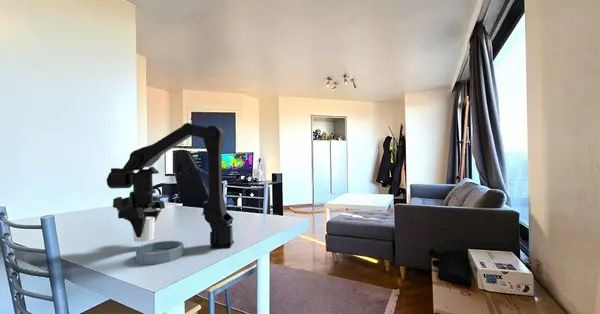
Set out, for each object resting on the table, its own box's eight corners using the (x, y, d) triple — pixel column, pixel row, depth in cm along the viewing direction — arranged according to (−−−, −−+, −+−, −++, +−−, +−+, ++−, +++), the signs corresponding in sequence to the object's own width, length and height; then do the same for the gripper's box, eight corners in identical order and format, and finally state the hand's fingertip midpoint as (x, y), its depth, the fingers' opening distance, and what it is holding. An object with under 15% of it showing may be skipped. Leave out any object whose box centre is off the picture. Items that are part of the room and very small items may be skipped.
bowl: (189, 249, 93) (189, 240, 93) (172, 263, 80) (172, 252, 80) (149, 250, 93) (149, 241, 93) (126, 264, 80) (126, 254, 80)
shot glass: (145, 242, 93) (145, 220, 93) (127, 241, 94) (126, 220, 94) (160, 236, 99) (159, 216, 99) (142, 236, 101) (142, 216, 101)
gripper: (134, 185, 106) (135, 228, 106) (99, 191, 87) (100, 243, 87) (164, 185, 106) (165, 227, 106) (136, 190, 87) (138, 242, 87)
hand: (143, 234), depth 97 cm, fingers closed on shot glass, 6 cm apart
